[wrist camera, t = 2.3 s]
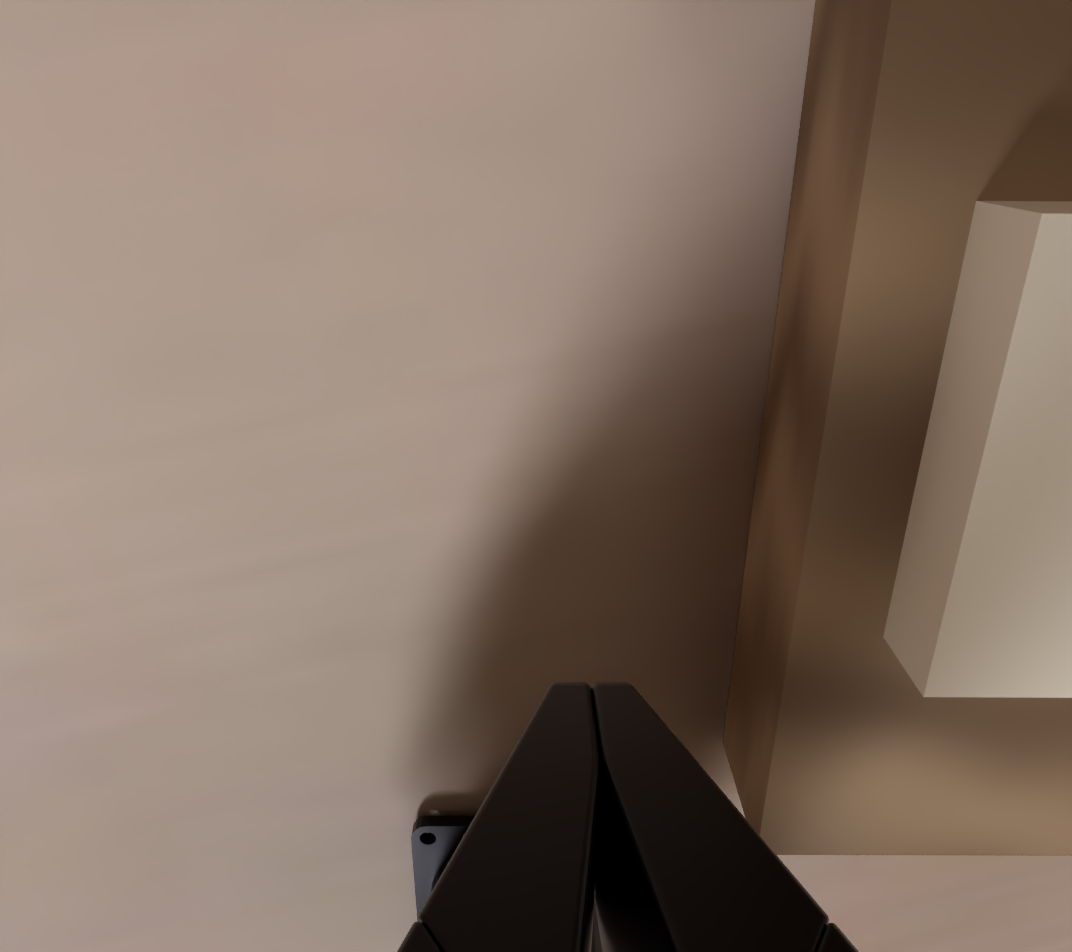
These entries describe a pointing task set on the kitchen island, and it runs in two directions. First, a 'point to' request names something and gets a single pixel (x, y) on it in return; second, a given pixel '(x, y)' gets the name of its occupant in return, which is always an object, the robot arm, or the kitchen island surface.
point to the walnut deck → (887, 437)
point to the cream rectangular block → (996, 474)
